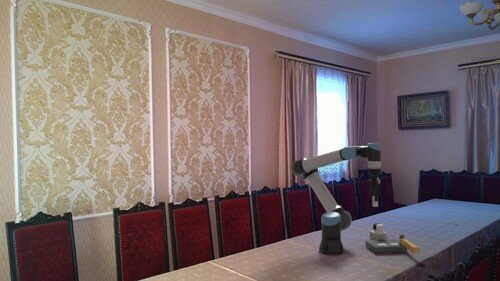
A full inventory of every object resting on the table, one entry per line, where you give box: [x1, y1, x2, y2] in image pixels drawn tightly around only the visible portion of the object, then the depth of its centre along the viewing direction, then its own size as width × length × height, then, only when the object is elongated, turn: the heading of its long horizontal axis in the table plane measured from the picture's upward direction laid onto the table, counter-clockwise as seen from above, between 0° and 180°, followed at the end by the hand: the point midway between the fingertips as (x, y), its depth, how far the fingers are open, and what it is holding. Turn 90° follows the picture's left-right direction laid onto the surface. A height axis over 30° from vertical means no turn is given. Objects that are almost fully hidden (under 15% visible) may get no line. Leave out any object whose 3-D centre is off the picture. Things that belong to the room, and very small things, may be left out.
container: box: [369, 222, 388, 240], centre depth 231 cm, size 8×8×13 cm
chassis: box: [365, 238, 408, 255], centre depth 217 cm, size 21×15×4 cm
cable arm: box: [399, 233, 421, 254], centre depth 206 cm, size 21×4×5 cm, turn 178°
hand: (375, 206), depth 211 cm, fingers closed
